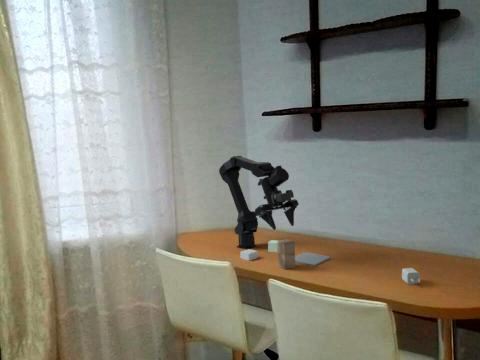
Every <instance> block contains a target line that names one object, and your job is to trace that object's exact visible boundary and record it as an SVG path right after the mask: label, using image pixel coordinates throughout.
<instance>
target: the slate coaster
mask: <svg viewBox="0 0 480 360" xmlns="http://www.w3.org/2000/svg"><path fill="white" fill-rule="evenodd" d="M331 258H332V257H331V256H328V255H321V254H318V253H317V254H316V253H314V252H313V253H312V252H308V251H303V252H301V253H299V254H297V255H295V264H297V263H298V264H301V265H305V266H306V265H307V266H310V267H316V266H318V265H320V264H321V263H325V262H326V261H328V260H330V259H331Z"/></svg>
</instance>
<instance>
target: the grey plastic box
mask: <svg viewBox="0 0 480 360" xmlns="http://www.w3.org/2000/svg"><path fill="white" fill-rule="evenodd" d="M258 254H259V253H258V250H254V249H251V248H249V249H245V250H244V249H243V250H242V251H240V259H241V258H242V259H241V260H245V261H248V260H250V261H253V260H255V259H258V258H259V255H258Z"/></svg>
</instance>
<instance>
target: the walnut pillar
mask: <svg viewBox="0 0 480 360" xmlns="http://www.w3.org/2000/svg"><path fill="white" fill-rule="evenodd" d="M277 241H278V252H277V255H278V256H277V257H278V267H279V268H281V269H283V270H289V269H290V270H291V269H294V268H296V262H295V256H296V251H295V250H296V249H295V246H296V245H295V241H294V240H292V239H289V238H286V239H285V238H284V239H279V240H277Z"/></svg>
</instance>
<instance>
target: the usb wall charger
mask: <svg viewBox="0 0 480 360" xmlns="http://www.w3.org/2000/svg"><path fill="white" fill-rule="evenodd" d="M420 276H421V275H420V272H419V271H417V270H416V269H415V268H413V267H406V268H404V267H403V268H402V269H401V279H402V280H403V282H405V283H406V284H407V285H416V284H415V283H419V284H420V283H421V279H420Z"/></svg>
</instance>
